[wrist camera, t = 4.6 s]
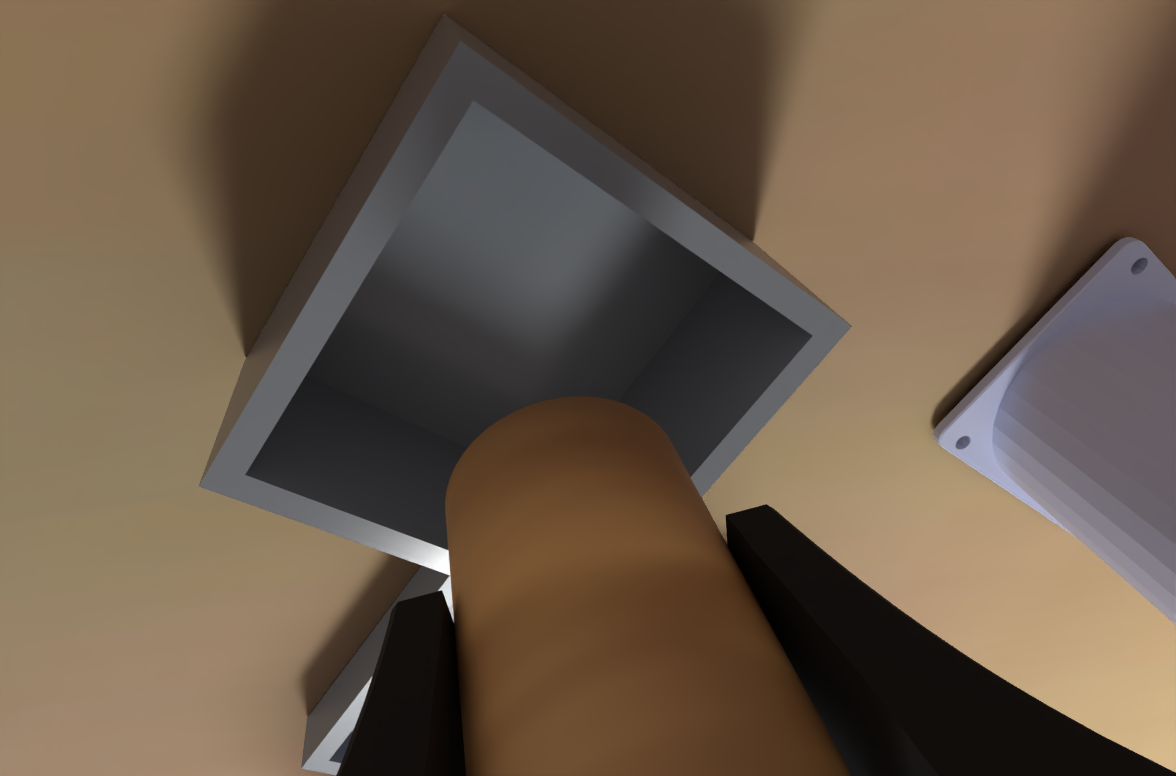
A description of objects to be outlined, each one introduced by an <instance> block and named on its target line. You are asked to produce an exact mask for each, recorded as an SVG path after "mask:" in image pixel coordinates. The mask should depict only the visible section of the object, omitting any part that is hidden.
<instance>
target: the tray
mask: <svg viewBox="0 0 1176 776" xmlns="http://www.w3.org/2000/svg"><path fill="white" fill-rule="evenodd" d="M441 590H442V591H443V594H444V597H445V599H446V602H447V605H448V608H449V610H450V613H451V616H452V619H453V622H454V615H453V603H452V590H451V577H450V575H448V574H445V573H442V572H439V571H436V570H433V569H431V568H428V567H425V566H422V565H421V567H420V568H419V569H418V571H417V572H416V573H415V575H414V576H413V577H412V579H411V580H410V581H409V583H408V584H407V585H406V587H405V588H404V589H403V591H402V592H401V593H400V595H399V596H398V597H397V599H396V600H395V601H394V603H393V604H392V605H391V607H390V608H389V609H388V611H387V612H386V613H385V615H384V616H383V618H382V619H381V620H380V622H379V623H378V624H377V626H376V627H375V628H374V630H373V631H372V632H371V634H370V635H369V636H368V638H367V639H366V640H365V642H364V643H363V644H362V646H361V647H360V648H359V650H358V651H357V652H356V654H355V655H354V656H353V658H352V659H351V660H350V662H349V663H348V664H347V666H346V667H345V668H344V670H343V671H342V672H341V674H340V675H339V676H338V678H337V679H336V680H335V682H334V683H333V684H332V686H331V687H330V688H329V690H328V691H327V692H326V694H325V695H324V696H323V698H322V699H321V700H320V702H319V703H318V704H317V706H316V707H315V708H314V710H313V711H312V712H311V714H310V715H309V716H308V718H307V724H306V733H305V741H304V750H303V758H302V766H301V769H306V770H311V771H316V772H321V773H326V774H331V775H337V772H338V770H339V767H340V765H341V762H342V760H343V757H344V755H345V752H346V749H347V747H348V744H349V741H350V739H351V736H352V733H353V730H354V728H355V725H356V722H357V720H358V717H359V714H360V711H361V709H362V706H363V703H364V701H365V698H366V695H367V692H368V689H369V686H370V683H371V680H372V677H373V674H374V671H375V667H376V664H377V661H378V658H379V655H380V651H381V648H382V644H383V641H384V637H385V634H386V630H387V627H388V623H389V619H390V615H391V611H392V609H393V608H394V606H395V605H396V604H397V602H399V601H403V600H407V599H410V598H414V597H418V596H422V595H425V594H429V593H433V592H437V591H441Z"/></svg>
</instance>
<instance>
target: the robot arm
mask: <svg viewBox="0 0 1176 776" xmlns="http://www.w3.org/2000/svg"><path fill="white" fill-rule="evenodd" d="M1132 265H1133V266H1132ZM933 438H934V440H935V441H936V442H937V443H938V444H939V445H940V446H941V447H942V448H944V449H945V450H947V451H948V452H950V453H951V454H953V455H954V456H956V457H957V458H959V459H960V460H962V461H963V462H965V463H966V464H968V465H969V466H971V467H972V468H974V469H975V470H977V471H978V472H980V473H981V474H982V475H984V476H985V477H987V478H988V479H990V480H991V481H993V482H994V483H996V484H997V485H999V486H1000V487H1002V488H1003V489H1005V490H1006V491H1008V492H1009V493H1011V494H1012V495H1014V496H1015V497H1017V498H1018V499H1020V500H1021V501H1023V502H1024V503H1026V504H1027V505H1029V506H1030V507H1032V508H1033V509H1035V510H1036V511H1038V512H1039V513H1041V514H1042V515H1044V516H1045V517H1047V518H1048V519H1050V520H1051V521H1053V522H1054V523H1056V524H1057V525H1058V526H1060V527H1061V528H1063V529H1064V530H1066V531H1067V532H1069V533H1070V534H1072V535H1073V536H1075V537H1076V538H1078V539H1079V540H1080V541H1081V542H1082V543H1083V544H1084V545H1086V546H1087V547H1088V548H1089V549H1090V550H1091V551H1092V552H1093V553H1095V554H1096V555H1097V556H1098V557H1099V558H1100V559H1101V560H1103V561H1104V562H1105V563H1106V564H1107V565H1108V566H1109V567H1110V568H1112V569H1113V570H1114V571H1115V572H1116V573H1117V574H1118V575H1120V576H1121V577H1122V578H1123V579H1124V580H1125V581H1126V582H1127V583H1129V584H1130V585H1131V586H1132V587H1133V588H1134V589H1135V590H1137V591H1138V592H1139V593H1140V594H1141V595H1142V596H1143V597H1144V598H1146V599H1147V600H1148V601H1149V602H1150V603H1151V604H1152V605H1154V606H1155V607H1156V608H1157V609H1158V610H1159V611H1160V612H1161V613H1163V614H1164V615H1165V616H1166V617H1167V618H1168V619H1169V620H1171V621H1172V622H1173V623H1174V624H1175V625H1176V278H1175V277H1174V276H1173V275H1172V274H1171V272H1170V271H1169V270H1168V269H1167V268H1166V267H1165V266H1164V265H1163V263H1162V262H1161V261H1160V260H1159V259H1158V258H1157V257H1156V256H1155V254H1154V253H1153V252H1152V251H1151V250H1150V249H1149V248H1148V247H1147V246H1146V244H1145V243H1144V242H1142V241H1140V240H1138V239H1135V238H1133V237H1125V238H1123V239H1120V240H1119V241H1117V242H1116V243H1115V244H1114V245H1112V246H1111V248H1110V249H1109V250H1108V251H1107V252H1106V253H1105V254H1104V255H1103V256H1102V257H1101V258H1100V259H1099V260H1098V261H1097V262H1096V263H1095V264H1094V265H1093V266H1092V267H1091V268H1090V269H1089V270H1088V271H1087V272H1086V273H1085V274H1084V275H1083V276H1082V277H1081V278H1080V279H1079V280H1078V281H1077V282H1076V283H1075V284H1074V285H1073V286H1072V288H1071V289H1070V290H1069V291H1068V292H1067V293H1066V294H1065V295H1064V296H1063V297H1062V298H1061V299H1060V300H1059V301H1058V302H1057V303H1056V304H1055V305H1054V306H1053V307H1052V308H1051V309H1050V310H1049V311H1048V312H1047V313H1046V314H1045V315H1044V316H1043V317H1042V318H1041V319H1040V320H1039V321H1038V322H1037V323H1036V324H1035V325H1034V326H1033V327H1032V329H1031V330H1030V331H1029V332H1028V333H1027V334H1026V335H1025V336H1024V337H1023V338H1022V339H1021V340H1020V341H1019V342H1018V343H1017V344H1016V345H1015V346H1014V347H1013V348H1012V349H1011V350H1010V351H1009V352H1008V353H1007V354H1006V355H1005V356H1004V357H1003V358H1002V359H1001V360H1000V361H999V362H998V363H997V364H996V365H995V366H994V367H993V368H992V370H991V371H990V372H989V373H988V374H987V375H986V376H985V377H984V378H983V379H982V380H981V381H980V382H979V383H978V384H977V385H976V386H975V387H974V388H973V389H972V390H971V391H970V392H969V393H968V394H967V395H966V396H965V397H964V398H963V399H962V400H961V401H960V402H959V403H958V404H957V405H956V406H955V407H954V408H953V410H952V411H951V412H950V413H949V414H948V415H947V416H946V417H945V418H944V419H943V420H942V421H941V422H940V423H939V424H938V425H937V427H936V428H935V430H934V433H933ZM958 439H959V440H958ZM726 528H727V544H728V548H729V549H730V551H731V553H732V555H733V557H734V559H735V561H736V562H737V564H738V566H739V568H740V570H741V572H742V573H743V575H744V577H745V579H746V581H747V583H748V585H749V586H750V588H751V590H752V592H753V594H754V596H755V597H756V599H757V601H758V603H759V605H760V607H761V609H762V610H763V612H764V614H765V616H766V618H767V620H768V622H769V623H770V625H771V627H772V629H773V631H774V633H775V634H776V636H777V638H778V640H779V642H780V644H781V646H782V647H783V649H784V651H785V653H786V655H787V657H788V659H789V660H790V662H791V664H792V666H793V668H794V670H795V671H796V673H797V675H798V677H799V679H800V681H801V683H802V684H803V686H804V688H805V690H806V692H807V694H808V695H809V697H810V699H811V701H812V703H813V705H814V707H815V708H816V710H817V712H818V714H819V716H820V718H821V720H822V721H823V723H824V725H825V727H826V729H827V731H828V732H829V734H830V736H831V738H832V740H833V742H834V744H835V745H836V747H837V749H838V751H839V753H840V755H841V757H842V758H843V760H844V762H845V764H846V766H847V768H848V769H849V771H850V773H851V775H852V776H1176V773H1175V772H1173V771H1171V770H1169V769H1167V768H1165V767H1163V766H1161V765H1159V764H1157V763H1155V762H1153V761H1151V760H1149V759H1147V758H1145V757H1143V756H1141V755H1139V754H1137V753H1135V752H1133V751H1131V750H1129V749H1127V748H1125V747H1123V746H1121V745H1119V744H1117V743H1115V742H1113V741H1112V740H1110V739H1108V738H1106V737H1104V736H1102V735H1100V734H1098V733H1096V732H1094V731H1092V730H1091V729H1089V728H1087V727H1085V726H1084V725H1082V724H1080V723H1078V722H1076V721H1075V720H1073V719H1071V718H1069V717H1067V716H1066V715H1064V714H1062V713H1060V712H1058V711H1057V710H1055V709H1053V708H1051V707H1049V706H1048V705H1046V704H1044V703H1043V702H1041V701H1039V700H1038V699H1036V698H1034V697H1032V696H1031V695H1029V694H1027V693H1026V692H1024V691H1022V690H1021V689H1019V688H1017V687H1016V686H1014V685H1012V684H1011V683H1009V682H1007V681H1006V680H1004V679H1002V678H1001V677H999V676H998V675H996V674H994V673H993V672H991V671H990V670H988V669H986V668H985V667H983V666H982V665H980V664H979V663H977V662H976V661H974V660H972V659H971V658H969V657H968V656H966V655H965V654H963V653H962V652H960V651H959V650H957V649H956V648H954V647H953V646H951V645H950V644H948V643H947V642H945V641H944V640H942V639H941V638H940V637H938V636H937V635H935V634H934V633H932V632H931V631H929V630H928V629H926V628H925V627H923V626H922V625H921V624H919V623H918V622H916V621H915V620H914V619H912V618H911V617H909V616H908V615H907V614H905V613H904V612H902V611H901V610H900V609H898V608H897V607H896V606H894V605H893V604H892V603H890V602H889V601H888V600H886V599H885V598H884V597H882V596H881V595H880V594H878V593H877V592H876V591H874V590H873V589H872V588H870V587H869V586H868V585H866V584H865V583H864V582H862V581H861V580H860V579H858V578H857V577H856V576H855V575H853V574H852V573H851V572H849V571H848V570H847V569H846V568H844V567H843V566H842V565H841V564H839V563H838V562H837V561H836V560H834V559H833V558H832V557H831V556H830V555H828V554H827V553H826V552H825V551H823V550H822V549H821V548H820V547H818V546H817V545H816V544H815V543H814V542H812V541H811V540H810V539H809V538H808V537H806V536H805V535H804V534H803V533H802V532H800V531H799V530H798V529H797V528H796V527H794V526H793V525H792V524H791V523H790V522H789V521H787V520H786V519H785V518H784V517H783V516H782V515H780V514H779V513H778V512H777V511H776V510H775V509H773V508H772V507H770V506H768V505H767V504H766V505H762V506H759V507H755V508H751V509H747V510H743V511H740V512H736V513H732V514H728V515H726ZM336 776H466V767H465V754H464V741H463V729H462V716H461V704H460V690H459V677H458V665H457V652H456V640H455V627H454V622H453V619H452V616H451V613H450V610H449V608H448V605H447V602H446V599H445V597H444V594H443V591H442V590H441V591H437V592H433V593H429V594H425V595H422V596H418V597H414V598H410V599H407V600H403V601H399V602H397V604H396V605H395V606H394V608H393V609H392V611H391V615H390V619H389V623H388V627H387V630H386V634H385V637H384V641H383V644H382V648H381V651H380V655H379V658H378V661H377V664H376V667H375V671H374V674H373V677H372V680H371V683H370V686H369V689H368V692H367V695H366V698H365V701H364V703H363V706H362V709H361V711H360V714H359V717H358V720H357V722H356V725H355V728H354V730H353V733H352V736H351V739H350V741H349V744H348V747H347V749H346V752H345V755H344V757H343V760H342V762H341V765H340V767H339V770H338V772H337V775H336Z"/></svg>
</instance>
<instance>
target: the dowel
mask: <svg viewBox="0 0 1176 776" xmlns="http://www.w3.org/2000/svg"><path fill="white" fill-rule="evenodd" d="M445 513H446V527H447V539H448V552H449V565H450V577H451V590H452V603H453V615H454V627H455V640H456V652H457V665H458V677H459V690H460V704H461V716H462V729H463V741H464V754H465V767H466V776H852V775H851V773H850V771H849V769H848V768H847V766H846V764H845V762H844V760H843V758H842V757H841V755H840V753H839V751H838V749H837V747H836V745H835V744H834V742H833V740H832V738H831V736H830V734H829V732H828V731H827V729H826V727H825V725H824V723H823V721H822V720H821V718H820V716H819V714H818V712H817V710H816V708H815V707H814V705H813V703H812V701H811V699H810V697H809V695H808V694H807V692H806V690H805V688H804V686H803V684H802V683H801V681H800V679H799V677H798V675H797V673H796V671H795V670H794V668H793V666H792V664H791V662H790V660H789V659H788V657H787V655H786V653H785V651H784V649H783V647H782V646H781V644H780V642H779V640H778V638H777V636H776V634H775V633H774V631H773V629H772V627H771V625H770V623H769V622H768V620H767V618H766V616H765V614H764V612H763V610H762V609H761V607H760V605H759V603H758V601H757V599H756V597H755V596H754V594H753V592H752V590H751V588H750V586H749V585H748V583H747V581H746V579H745V577H744V575H743V573H742V572H741V570H740V568H739V566H738V564H737V562H736V561H735V559H734V557H733V555H732V553H731V551H730V549H729V548H728V546H727V544H726V542H725V540H724V538H723V536H722V535H721V533H720V531H719V529H718V527H717V525H716V524H715V522H714V520H713V518H712V516H711V514H710V512H709V511H708V509H707V507H706V505H705V503H704V501H703V499H702V498H701V496H700V494H699V492H698V490H697V488H696V487H695V485H694V483H693V481H692V479H691V477H690V475H689V474H688V472H687V470H686V468H685V466H684V464H683V463H682V461H681V459H680V457H679V455H678V453H677V451H676V450H675V448H674V446H673V444H672V442H671V441H670V439H669V437H668V436H667V434H666V433H665V432H664V431H663V429H662V428H661V427H660V426H659V425H658V424H657V423H656V422H655V421H653V420H652V419H651V418H650V417H648V416H647V415H645V414H644V413H642V412H641V411H639V410H637V409H635V408H633V407H631V406H629V405H626V404H624V403H620V402H617V401H614V400H610V399H604V398H598V397H585V396H575V397H562V398H556V399H551V400H545V401H542V402H539V403H535V404H532V405H529V406H527V407H524V408H522V409H519V410H517V411H515V412H513V413H511V414H509V415H507V416H506V417H504V418H502V419H500V420H499V421H497V422H496V423H494V424H493V425H492V426H490V427H489V428H488V429H486V430H485V431H484V432H483V433H482V434H481V435H479V436H478V437H477V438H476V439H475V440H474V441H473V442H472V443H471V445H470V446H469V447H468V448H467V449H466V451H465V452H464V453H463V455H462V456H461V458H460V459H459V461H458V463H457V464H456V466H455V468H454V470H453V473H452V475H451V477H450V480H449V484H448V487H447V491H446V499H445Z"/></svg>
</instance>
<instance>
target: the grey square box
mask: <svg viewBox="0 0 1176 776" xmlns="http://www.w3.org/2000/svg"><path fill="white" fill-rule="evenodd" d="M851 327H852V326H851V325H850V324H849V323H848V322H847V321H845V320H844V319H843V318H842V317H841V316H839V315H838V314H837V313H836V312H835V311H834V310H832V309H831V308H830V307H829V306H828V305H827V304H825V303H824V302H823V301H822V300H821V299H820V298H818V297H817V296H816V295H815V294H814V293H813V292H811V291H810V290H809V289H808V288H807V287H806V286H804V285H803V284H802V283H801V282H800V281H798V280H797V279H796V278H795V277H794V276H793V275H791V274H790V273H789V272H788V271H787V270H786V269H784V268H783V267H782V266H781V265H780V264H779V263H777V262H776V261H775V260H774V259H773V258H772V257H770V256H769V255H768V254H767V253H766V252H764V251H763V250H762V249H761V248H760V247H759V246H757V245H756V244H755V243H754V242H753V241H751V240H750V239H748V238H747V237H746V236H744V235H743V234H742V233H740V232H739V231H738V230H736V229H735V228H734V227H732V226H731V225H730V224H728V223H727V222H726V221H724V220H723V219H721V218H720V217H719V216H717V215H716V214H715V213H713V212H712V211H711V210H709V209H708V208H707V207H705V206H704V205H703V204H701V203H700V202H698V201H697V200H696V199H694V198H693V197H692V196H690V195H689V194H688V193H686V192H685V191H684V190H682V189H681V188H680V187H678V186H677V185H676V184H674V183H673V182H671V181H670V180H669V179H667V178H666V177H665V176H663V175H662V174H661V173H659V172H658V171H657V170H655V169H654V168H653V167H651V166H650V165H648V164H647V163H646V162H644V161H643V160H642V159H640V158H639V157H638V156H636V155H635V154H634V153H632V152H631V151H630V150H628V149H627V148H625V147H624V146H623V145H621V144H620V143H619V142H617V141H616V140H615V139H613V138H612V137H611V136H609V135H608V134H607V133H605V132H604V131H603V130H601V129H600V128H598V127H597V126H596V125H594V124H593V123H592V122H590V121H589V120H588V119H586V118H585V117H584V116H582V115H581V114H580V113H578V112H577V111H575V110H574V109H573V108H571V107H570V106H569V105H567V104H566V103H565V102H563V101H562V100H561V99H559V98H558V97H557V96H555V95H554V94H553V93H551V92H550V91H548V90H547V89H546V88H544V87H543V86H542V85H540V84H539V83H538V82H536V81H535V80H534V79H532V78H531V77H530V76H528V75H527V74H525V73H524V72H523V71H521V70H520V69H519V68H517V67H516V66H515V65H513V64H512V63H511V62H509V61H508V60H507V59H505V58H504V57H503V56H501V55H500V54H498V53H497V52H496V51H494V50H493V49H492V48H490V47H489V46H488V45H486V44H485V43H484V42H482V41H481V40H480V39H478V38H477V37H475V36H474V35H473V34H471V33H470V32H469V31H467V30H466V29H465V28H463V27H462V26H461V25H459V24H458V23H457V22H455V21H454V20H452V19H451V18H450V17H448V16H447V15H446V14H444V13H443V15H442V17H441V18H440V20H439V22H438V24H437V25H436V27H435V29H434V31H433V32H432V34H431V36H430V38H429V39H428V41H427V43H426V45H425V46H424V48H423V50H422V52H421V53H420V55H419V57H418V59H417V60H416V62H415V64H414V65H413V67H412V69H411V71H410V72H409V74H408V76H407V78H406V79H405V81H404V83H403V85H402V86H401V88H400V90H399V92H398V93H397V95H396V97H395V99H394V100H393V102H392V104H391V106H390V107H389V109H388V111H387V113H386V114H385V116H384V118H383V120H382V121H381V123H380V125H379V127H378V128H377V130H376V132H375V134H374V135H373V137H372V139H371V141H370V142H369V144H368V146H367V148H366V149H365V151H364V153H363V155H362V156H361V158H360V160H359V162H358V163H357V165H356V167H355V169H354V170H353V172H352V174H351V176H350V177H349V179H348V181H347V183H346V184H345V186H344V188H343V190H342V191H341V193H340V195H339V197H338V198H337V200H336V202H335V204H334V205H333V207H332V209H331V211H330V212H329V214H328V216H327V218H326V219H325V221H324V223H323V225H322V226H321V228H320V230H319V231H318V233H317V235H316V237H315V238H314V240H313V242H312V244H311V245H310V247H309V249H308V251H307V252H306V254H305V256H304V258H303V259H302V261H301V263H300V265H299V266H298V268H297V270H296V272H295V273H294V275H293V277H292V279H291V280H290V282H289V284H288V286H287V287H286V289H285V291H284V293H283V294H282V296H281V298H280V300H279V301H278V303H277V305H276V307H275V308H274V310H273V312H272V314H271V315H270V317H269V319H268V321H267V322H266V324H265V326H264V328H263V329H262V331H261V333H260V335H259V336H258V338H257V340H256V342H255V343H254V345H253V347H252V349H251V350H250V352H249V354H248V356H247V357H246V359H245V362H244V364H243V367H242V370H241V372H240V375H239V378H238V381H237V383H236V386H235V389H234V391H233V394H232V397H231V400H230V402H229V405H228V408H227V411H226V413H225V416H224V419H223V421H222V424H221V427H220V430H219V432H218V435H217V438H216V441H215V443H214V446H213V449H212V451H211V454H210V457H209V460H208V462H207V465H206V468H205V470H204V473H203V476H202V479H201V481H200V484H199V487H202V488H205V489H208V490H210V491H213V492H216V493H219V494H222V495H225V496H227V497H230V498H233V499H236V500H239V501H242V502H244V503H247V504H250V505H253V506H256V507H258V508H261V509H264V510H267V511H270V512H273V513H275V514H278V515H281V516H284V517H287V518H290V519H292V520H295V521H298V522H301V523H304V524H306V525H309V526H312V527H315V528H318V529H321V530H323V531H326V532H329V533H332V534H335V535H338V536H340V537H343V538H346V539H349V540H352V541H354V542H357V543H360V544H363V545H366V546H369V547H371V548H374V549H377V550H380V551H383V552H386V553H388V554H391V555H394V556H397V557H400V558H402V559H405V560H408V561H411V562H414V563H417V564H419V565H422V566H425V567H428V568H431V569H433V570H436V571H439V572H442V573H445V574H448V575H450V565H449V552H448V539H447V527H446V513H445V499H446V491H447V487H448V484H449V480H450V477H451V475H452V473H453V470H454V468H455V466H456V464H457V463H458V461H459V459H460V458H461V456H462V455H463V453H464V452H465V451H466V449H467V448H468V447H469V446H470V445H471V443H472V442H473V441H474V440H475V439H476V438H477V437H478V436H479V435H481V434H482V433H483V432H484V431H485V430H486V429H488V428H489V427H490V426H492V425H493V424H494V423H496V422H497V421H499V420H500V419H502V418H504V417H506V416H507V415H509V414H511V413H513V412H515V411H517V410H519V409H522V408H524V407H527V406H529V405H532V404H535V403H539V402H542V401H545V400H551V399H556V398H562V397H575V396H585V397H598V398H604V399H610V400H614V401H617V402H620V403H624V404H626V405H629V406H631V407H633V408H635V409H637V410H639V411H641V412H642V413H644V414H645V415H647V416H648V417H650V418H651V419H652V420H653V421H655V422H656V423H657V424H658V425H659V426H660V427H661V428H662V429H663V431H664V432H665V433H666V434H667V436H668V437H669V439H670V441H671V442H672V444H673V446H674V448H675V450H676V451H677V453H678V455H679V457H680V459H681V461H682V463H683V464H684V466H685V468H686V470H687V472H688V474H689V475H690V477H691V479H692V481H693V483H694V485H695V487H696V488H697V490H698V492H699V494H700V496H701V497H702V496H703V495H704V494H705V493H706V491H707V490H708V489H709V488H710V487H711V486H712V485H713V484H714V482H715V481H716V480H717V479H718V478H719V477H720V476H721V474H722V473H723V472H724V471H725V470H726V469H727V468H728V466H729V465H730V464H731V463H732V462H733V461H734V460H735V459H736V457H737V456H738V455H739V454H740V453H741V452H742V451H743V449H744V448H745V447H746V446H747V445H748V444H749V443H750V441H751V440H752V439H753V438H754V437H755V436H756V435H757V434H758V432H759V431H760V430H761V429H762V428H763V427H764V426H765V424H766V423H767V422H768V421H769V420H770V419H771V418H772V416H773V415H774V414H775V413H776V412H777V411H778V410H779V409H780V407H781V406H782V405H783V404H784V403H785V402H786V401H787V399H788V398H789V397H790V396H791V395H792V394H793V393H794V391H795V390H796V389H797V388H798V387H799V386H800V385H801V384H802V382H803V381H804V380H805V379H806V378H807V377H808V376H809V374H810V373H811V372H812V371H813V370H814V369H815V368H816V366H817V365H818V364H819V363H820V362H821V361H822V360H823V359H824V357H825V356H826V355H827V354H828V353H829V352H830V351H831V349H832V348H833V347H834V346H835V345H836V344H837V343H838V341H839V340H840V339H841V338H842V337H843V336H844V335H845V334H846V332H847V331H848V330H849V329H850V328H851Z"/></svg>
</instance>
